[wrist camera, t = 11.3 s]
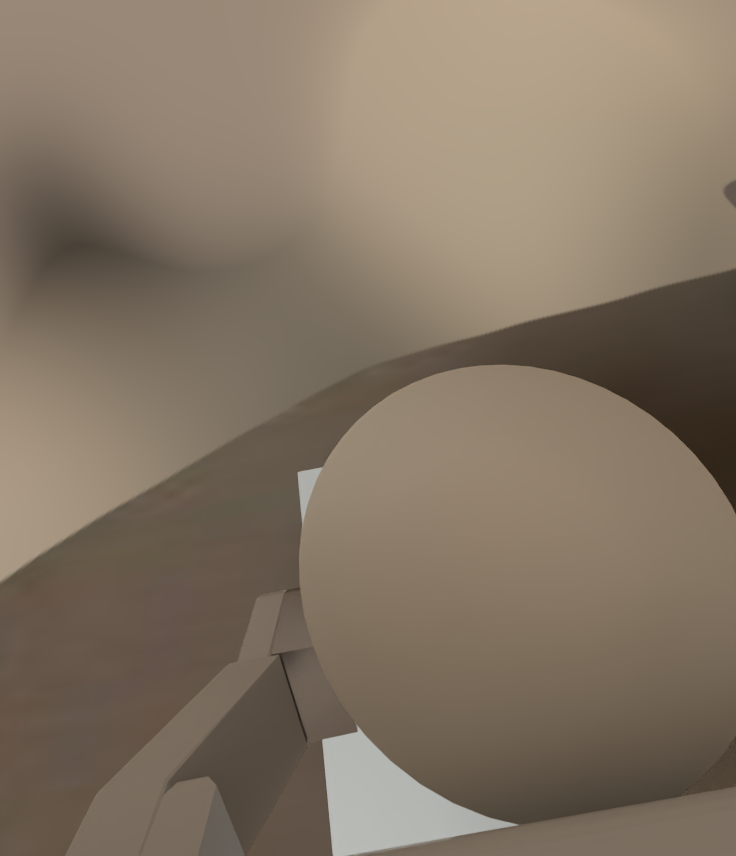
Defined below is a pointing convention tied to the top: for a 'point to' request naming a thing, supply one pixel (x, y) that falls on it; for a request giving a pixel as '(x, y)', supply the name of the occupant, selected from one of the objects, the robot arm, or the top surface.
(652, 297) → the top surface
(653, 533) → the white rounded cylinder
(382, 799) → the shelf
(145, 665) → the top surface
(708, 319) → the top surface
